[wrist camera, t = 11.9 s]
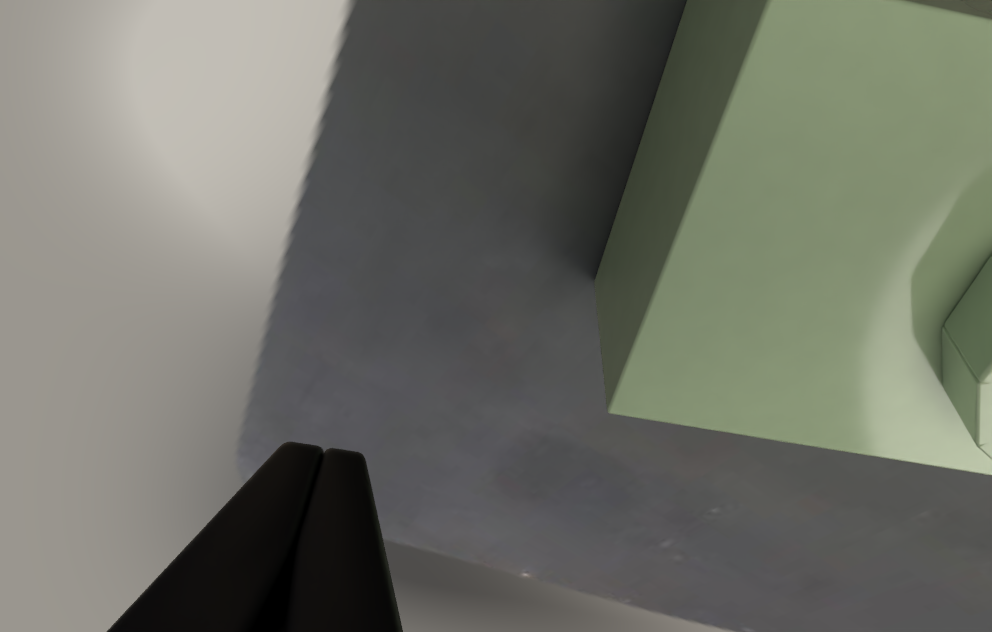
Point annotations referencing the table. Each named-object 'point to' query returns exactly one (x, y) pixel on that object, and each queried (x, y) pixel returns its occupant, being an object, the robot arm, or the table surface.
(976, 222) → the push button box
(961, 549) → the table surface
